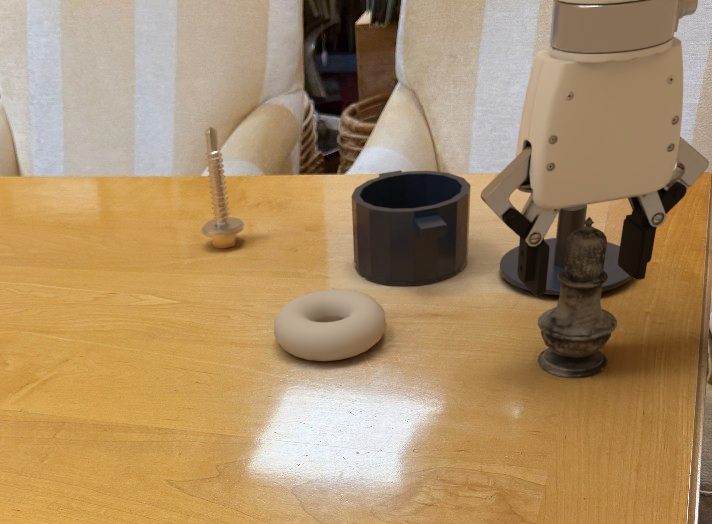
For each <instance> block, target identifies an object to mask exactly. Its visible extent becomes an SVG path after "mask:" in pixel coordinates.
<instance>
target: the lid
mask: <svg viewBox="0 0 712 524" xmlns="http://www.w3.org/2000/svg"><path fill="white" fill-rule="evenodd" d="M587 213H588V205H581V206H575V207H568V208H561V209H560V210H559V212H558V214H557V224H556V234H555V237H552V238H544V241H545V242H546V243H547V244H548V245H549V248H550V251H549V261H548V272H547V282H546V292H545V293H543V295H552V296H553V295H554V296H560V288H561V282H560V281H559V280H558V278H557V277H558V273H559V272H560V271H562V270H563V269H564V260H565V250H566V241H567V238H568V236H569V235H570V234H571V233H572V232H573V231H575V230H577V229H579V228H582V227H585V224H584V222H585V221H586V219H587ZM619 250H620V245H618V244H616V243H612V242H609V241H607V246H606V254H605V261H604V269H603V271H605V272H606V273H607V275H608V279H607V280H606V282H604V283H603V284H602V292H605V291H610V290H613V289H616V288H619V287H620V286H623V285H625V284H626V283H628V282H629V281H631V279H633V278H632V277H631V276H630V275H629V274H627V273H626V272H625V271H624V270H623V269H622V268H620V267H619V266H618V257H619ZM518 256H519V245H518V246H515V247H513V248H511V249H510V250H508V251H507V252H506V253H505V254H504V255H503V256H502V257H501V258H500V260H499V272H500V276H502V278H503V279H504V280H505V281H506V282H508V283H510V284H511V285H513V286H515V287H517V288H520V289H522V290H526V291H529V292H531V291H530V290H529V289H528V288H527V286H526V285H525V284H524V283H523V282H521V281H520V279H519V277H518V272H517V269H518Z"/></svg>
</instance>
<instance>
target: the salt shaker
mask: <svg viewBox="0 0 712 524" xmlns="http://www.w3.org/2000/svg"><path fill="white" fill-rule="evenodd" d="M594 223H595V221H593V218H591V217H590V216H588V217H587V218H586V221H585V222H584V224H585V227H582V228H579V229H577V230H575V231H573V232H572V233H571V234H570V235H569V236H568V238H567V241H566V250H565V260H564V269H563V270H562V271H560V272H559V273H558V277H557V278H558V280H559V281H560V282H561V288H560V295H559V298H558V301H557V304H556V306H555V307H552V308H549V309H547V310H545V311H544V312H542V313H541V314H540V315H539V317H538V318H537V326H538V328H539V329H540V335H541V337H542V340H543V342H544V345H545V346H546V347H547V348H545V349H544V350H543V351H541V352H540V354H539V355H538V358H537V362H538V363H537V364H538V365H539V367H540V368H541V369H542V370H543V371H545V372H547V373H548V374H551V375H553V376H558V377H563V378H572V379H573V378H574V379H576V378H577V379H578V378H587V377H591V376H594V375H597V374H600V373H601V372H603V371H604V370H605V369H606V368H607V366H608V358H607V356H606V355H605V354H604V353H603V352H602V351H601V350H602V349H604V348H605V346H606V345H607V343H608V342H609V340H610V338H611V337H612V333H614V332H615V330H616V329H617V327H618V320H617V318H616V316H615V315H614V314H612V313H611V312H610V311H609V310H606V309H605V308H602V303H601V299H602V292H603V291H602V284H603V283H604V282H606V280H607V279H608V275H607V273H606V272H605V271H603V269H604V261H605V254H606V246H607V242H608V238H607V235H606V234H605V233H604V232H603V231H601V229H599V228H596V227H594V226H592V225H593V224H594Z"/></svg>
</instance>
